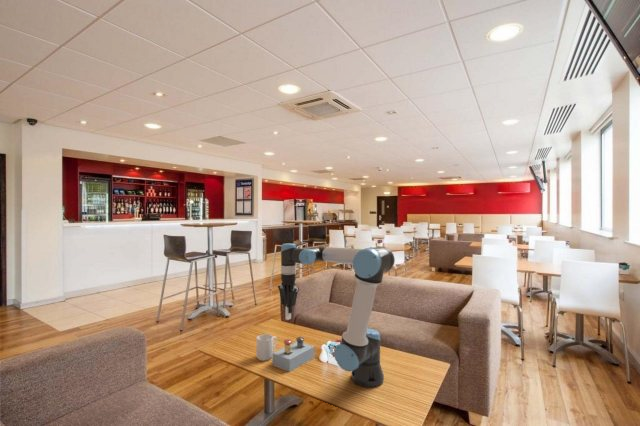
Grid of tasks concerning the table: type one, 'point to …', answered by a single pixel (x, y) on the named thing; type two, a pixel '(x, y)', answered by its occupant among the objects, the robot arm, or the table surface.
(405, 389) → the table surface
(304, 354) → the block
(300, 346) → the dark plug
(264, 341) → the mug
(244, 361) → the table surface
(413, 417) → the table surface
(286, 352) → the brass plug
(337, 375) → the table surface
